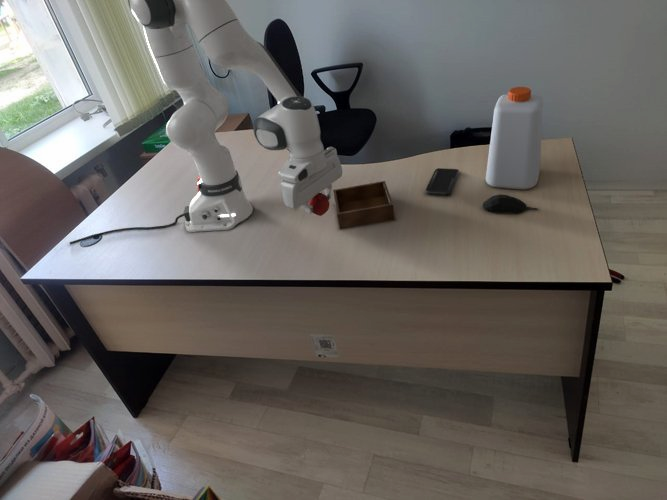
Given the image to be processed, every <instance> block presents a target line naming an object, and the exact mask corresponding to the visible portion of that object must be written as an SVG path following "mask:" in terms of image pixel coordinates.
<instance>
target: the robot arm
mask: <svg viewBox="0 0 667 500" xmlns="http://www.w3.org/2000/svg"><path fill="white" fill-rule="evenodd" d="M127 1H128V7H129V9H130V12H131V14H132V16H133V17H134V19H135V20H136V21H137V22H138V23H139V24H140V25H141V26H142V27H143V32H144V36H145V39H146V43H147V45H148V48H149V51H150V54H151V56H152V58H153V61H154V63H155V65H156V68H157V71H158V72H159V75H160V77H161V80H162V82H163V84H164V85H165V86H166V88H169V89H171V90H174V91H175V92H176V93H177V94H178V96H180V98H181V99H182V102H183V105H182V106H181V107H180V108H178V109H177V110H176V111H174V112H173V114H172V115H171V117H170V119H169V120H168V122H167V123H166V127H165V132H166V136H167V137H168V140H169V141H170V142H171V144H172V145H174V146H175V147H177V148H179V149H180V150H183V151H185V152H187V154H189V156H190V157H191V158H192V160H193V162H194V164H195V166H196V170H197V172H198V174H199V175H198V176H197V183H196V189H197V193H196V194H195V195H194V197H193V198H192V199H191V201H190V203H189V205H187V206H184V209H183V213H181V214H179V215H177V217H176V218H175V220H174V221H173V222H172V223H170V224H165V225H156V226H134V227H123V228H116V229H111V230H107V231H106V230H105V231H102V232H99V233H95V234H92V235H89V236H85V237H82V238H79V239H75V240H72V241H69V245H72V244H76V243H79V242H82V241H85V240H89V239H93V238H96V237H100V236H103V235H106V234H107V235H108V234H111V233H117V232H123V231H135V230H156V229H157V230H158V229H165V228H170V227H173V226H175V225H177V223H178V222H179V219H181V218H183V217H184V219H185V223H184V225H185V229H186V231H187V232H188V233H197V232H211V231H227V230H229V231H230V230H232V229H233V228H234V227H235V226H236V225H238V224H239V223H242V222H244V221H245V220H246V219H248V218H249V216H251V215H252V214H253V210H254V208H253V206H252V204H251V203H250V201H249V199H248V198H247V195H246V194H245V192H244V189H243V183H242V180H241V177H240V174H239V172H238V170H236V166H235V164H234V159H233V157H232V154H231V153H232V152H231V150H230V149H229V148H228V147H226V146H225V145H222V144H220V141H218V139H217V136H216V131H217V130H218V129H219V128H220V127H221V126H222V125H223V124H225V122H226V120H227V118H228V116H229V114H230V110H231V106H230V102H229V99H228V97H227V96H226V95H225V94H224V93H223V92H221V91H220V90H218V89H216V88H215V87H214V86H213V84H211V82H210V81H209V79H208V77H207V75H206V74H205V72H204V70H203V68H202V65H201V63H200V60H199V57H198V55H197V52H196V49H195V47H194V45H193V41H192V39H191V36H190V34H189V31H188V29H187V26H188V28H189V29H190V31H191V32H192V34H193V36H194V38H195V39H196V41H197V43H198V44H199V46H200V48H201V49H202V52H203V53H204V54H205V56H206V57H207V59H209V61H210V62H211V63H212V64H213V65H215V66H216V67H219V68H221V69H223V70H228V71H246V72H249V73H253V74H255V75H256V76H257V77H258V78H260V80H261V81H262V82H263V83H264V85H265V86H266V88H267V89H268V91H269V92H270V93H271V94H272V96H273V97H274V98H275V100H276V103H277V104H276V105H274V106H273V107H271V108H270V109H269V108H268V110H266V111H265V112H263V113H261V114H260V115H259V116H258V117H256V118H255V120H254V121H253V126H252V128H253V129H252V130H253V135H254V137H255V139H256V141H257V144H258V145H260V146H261V147H262V148H264V149H266V150H268V151H284V150H288V151H289V157H288V159H287V160H286V161H285V163H284V165H283V166H282V167H281V168H280V169H279V170H278V173H277V175H278V178H279V179H280V180H281V183H280V191H281V196H282V200H283V203H284V206H286V207H287V208H289V209H292V210H298V209H299V208H301V206H302V207H303V208H304V209H305V213H306V214H309V215H311V214H313V213H312V212H313V211H314V209H313V206H310V205H308V204H309V200H310V199H311V198H313V197H314V196H315V195H317V194H318V193H322V192H323V193H322V194H324V195H325V196H326V197H327V198H328V200H329V201H330V200H331V199H332V195H331V192H332V190H333V184H334V182H336V181H338V180H339V179H341V177H342V176H343V167H342V164H341V161H340V157H339V155H338V152H337V149H336V147H334V146H329V147H327V148H326V149H325V147H324V144H323V142H322V139H321V127H320V122H319V118H318V114H317V111H316V108H315V106H314V104H313V103H312V101H311V100H310V99H308V98H307V97H304V96H303V95H302V94H301V92H299V91H298V90H297V88H296V87H295V85H294V84H293V83H292V81H291V80H290V79H289V77H288V76H287V74H286V73H285V72H284V70H283V68H282V67H281V65H279V63H278V62H277V60H276V59H275V58H274V57H273V55H272V53H270V50H268V48H266V46H264V45H263V44H262V43H261V42H258V41H257V40H255V38H253V37H252V36H251V34H249V33H248V31H247V30H246V29H245V28H244V26H243V25H242V24H241V22H240V20H239V19H238V17H237V15H236V14H235V12H234V10H233V8H232V7H231V6H230V4H229V2H228V1H227V0H127Z"/></svg>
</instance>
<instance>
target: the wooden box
mask: <svg viewBox="0 0 667 500" xmlns="http://www.w3.org/2000/svg"><path fill="white" fill-rule="evenodd" d="M332 192H333V197H334V198H333V199H334V204H335V211H336V217H337V223H338V228H339V230H345V229H349V228H355V227H357V228H358V227H362V226H368V225H373V224H378V223H385V222H391V221H395V219H396V218H395V209H394V203H393V199H392V197H391V194H390V190H389V189H388V186H387V183H386V181H385V180H382V181H381V180H380V181H376V182H369V183H364V184H359V185H354V186H347V187H341V188H336V189H335V188H334V189H332Z"/></svg>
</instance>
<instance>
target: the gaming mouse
mask: <svg viewBox="0 0 667 500" xmlns="http://www.w3.org/2000/svg"><path fill="white" fill-rule="evenodd" d="M482 208H483V210H485V211H486V212H490V213H493V214H520V213H523V212H525V210H535V211H537V210H538V208H537V207H531V206H527V204H526V203H525V202H524V201H522V199H520V198H517V197H515V196H511V195H508V194H502V193H501V194H494V195H492V196H490V197H489V198H487V199H486V200H485V201H483V202H482Z"/></svg>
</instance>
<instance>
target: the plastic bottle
mask: <svg viewBox="0 0 667 500" xmlns="http://www.w3.org/2000/svg"><path fill="white" fill-rule="evenodd" d="M543 104H544V100H543V97H542V96H541V95H540V94H537V93H532V89H531V88H529V87H527V86H516V87H512V88H510V89H509V90H508V92H507V93H504V94H502V95H500V96H499V98H498V100H497V102H496V104H495V106H494V110H493V118H492V124H491V132H490V133H491V134H490V140H489V148H488V156H487V165H486V173H485V182H486V184H488V185H489V186H491V187H492V188H498V189H509V190H510V189H511V190H529V189H532V188H534V187H536V185H537V184H538V181H539V177H540V173H541V158H542V157H541V154H542V133H543V131H542V130H543V129H542V128H543V107H544V106H543Z"/></svg>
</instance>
